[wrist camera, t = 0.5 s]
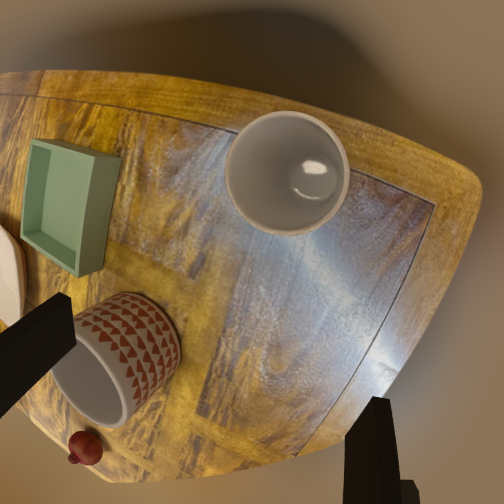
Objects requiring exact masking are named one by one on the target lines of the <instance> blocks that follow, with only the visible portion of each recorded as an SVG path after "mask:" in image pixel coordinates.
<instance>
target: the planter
mask: <svg viewBox="0 0 504 504" xmlns="http://www.w3.org/2000/svg"><path fill="white" fill-rule="evenodd" d="M73 321H74V328H75V335H76V341H77V345H76V346H75V347H74V348H73V349H71V350H70V351H69V352H68V353H67V354H66V355H65V356H64V357H63V358H62V359H61V360H60V361H59V362H58V363H56V364H55V365H54V366H53V367H52V368H51V369H50V373H51V375H52V377H53V379H54V381H55V383H56V384H57V386H58V388H59V389H60V391H61V392H62V394H63V395H64V396H65V398H66V399H67V400H68V401H69V402H70V404H71V405H72V406H73V407H74V408H75V409H76V410H77V411H78V412H79V413H81V414H82V415H83V416H84V417H86V418H87V419H89V420H90V421H92V422H93V423H95V424H97V425H100V426H102V427H106V428H118V427H121V426H122V425H123V424H125V423H126V422H127V421H128V420H129V419H130V418H131V416H132V415H133V414H134V413H135V412H136V411H137V410H138V409H139V408H140V407H141V406H142V405H143V404H144V403H145V402H146V401H147V400H148V399H149V398H150V397H151V396H152V395H153V394H154V393H155V392H156V391H157V390H158V389H159V388H160V387H161V386H162V385H163V384H164V383H165V382H166V381H167V380H168V379H169V378H170V377H171V376H172V375H173V373H174V372H175V371H176V370H177V368H178V366H179V363H180V358H181V348H180V342H179V339H178V336H177V333H176V331H175V328H174V327H173V325H172V323H171V321H170V320H169V318H168V317H167V316H166V314H165V313H164V312H163V311H162V310H161V309H160V308H159V307H158V306H157V305H156V304H155V303H153V302H152V301H150V300H149V299H147V298H146V297H144V296H141V295H139V294H136V293H130V292H124V293H119V294H116V295H114V296H112V297H110V298H108V299H106V300H104V301H102V302H100V303H98V304H96V305H94V306H92V307H90V308H88V309H86V310H84V311H82V312H80V313H78V314H77V315H75V316H73Z"/></svg>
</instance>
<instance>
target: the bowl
mask: <svg viewBox="0 0 504 504" xmlns="http://www.w3.org/2000/svg"><path fill="white" fill-rule="evenodd" d="M26 295H27V268H26V258H25V253H24V250H23V249H22V247H21V245H20V244H19V243H18V242H17V241H16V239H15V238H14V237H13V236H11V235H10V234H9V233H8V232H7V231H6V230H5V229H4V228H3V227H2V226H1V225H0V319H1V320H2V321H3V322H4V323H5V324H6V325H8V326H9V327H10V326H11V325H13V324H14V323H15V322H17V321H18V320H19V319H21V318H22V314H23V309H24V304H25V300H26Z"/></svg>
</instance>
